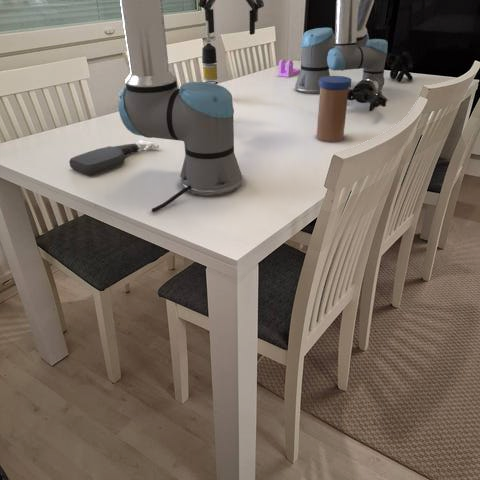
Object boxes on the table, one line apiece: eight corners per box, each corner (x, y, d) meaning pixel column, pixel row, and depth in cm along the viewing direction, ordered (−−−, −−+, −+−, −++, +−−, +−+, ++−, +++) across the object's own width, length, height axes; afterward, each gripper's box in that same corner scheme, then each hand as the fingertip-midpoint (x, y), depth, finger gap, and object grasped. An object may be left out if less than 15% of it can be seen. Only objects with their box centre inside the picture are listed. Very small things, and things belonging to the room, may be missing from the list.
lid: (355, 84, 130) (356, 77, 129) (343, 91, 124) (344, 84, 123) (326, 80, 135) (327, 74, 134) (313, 87, 128) (313, 80, 127)
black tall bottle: (220, 99, 177) (217, 15, 161) (206, 100, 176) (202, 16, 160) (215, 96, 182) (212, 14, 166) (202, 97, 180) (197, 14, 164)
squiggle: (400, 92, 202) (376, 71, 205) (417, 76, 202) (392, 56, 205) (405, 81, 191) (380, 59, 194) (423, 64, 191) (397, 42, 194)
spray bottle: (67, 168, 120) (139, 144, 136) (91, 178, 114) (163, 151, 130) (65, 157, 118) (137, 134, 134) (89, 167, 112) (162, 142, 128)
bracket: (288, 77, 209) (289, 61, 205) (278, 75, 212) (278, 60, 208) (302, 72, 218) (303, 57, 214) (292, 70, 221) (293, 55, 217)
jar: (347, 136, 138) (353, 79, 129) (336, 143, 133) (342, 85, 124) (323, 131, 142) (327, 76, 133) (312, 139, 137) (316, 82, 128)
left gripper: (275, -49, 126) (273, 32, 137) (195, -47, 134) (200, 30, 145) (267, -50, 120) (266, 36, 131) (184, -48, 128) (190, 33, 139)
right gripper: (399, 104, 159) (386, 120, 143) (331, 97, 169) (312, 111, 153) (402, 82, 155) (390, 97, 139) (333, 76, 165) (314, 89, 149)
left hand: (231, 33), depth 138 cm, fingers open, 13 cm apart
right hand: (349, 104), depth 146 cm, fingers open, 13 cm apart
